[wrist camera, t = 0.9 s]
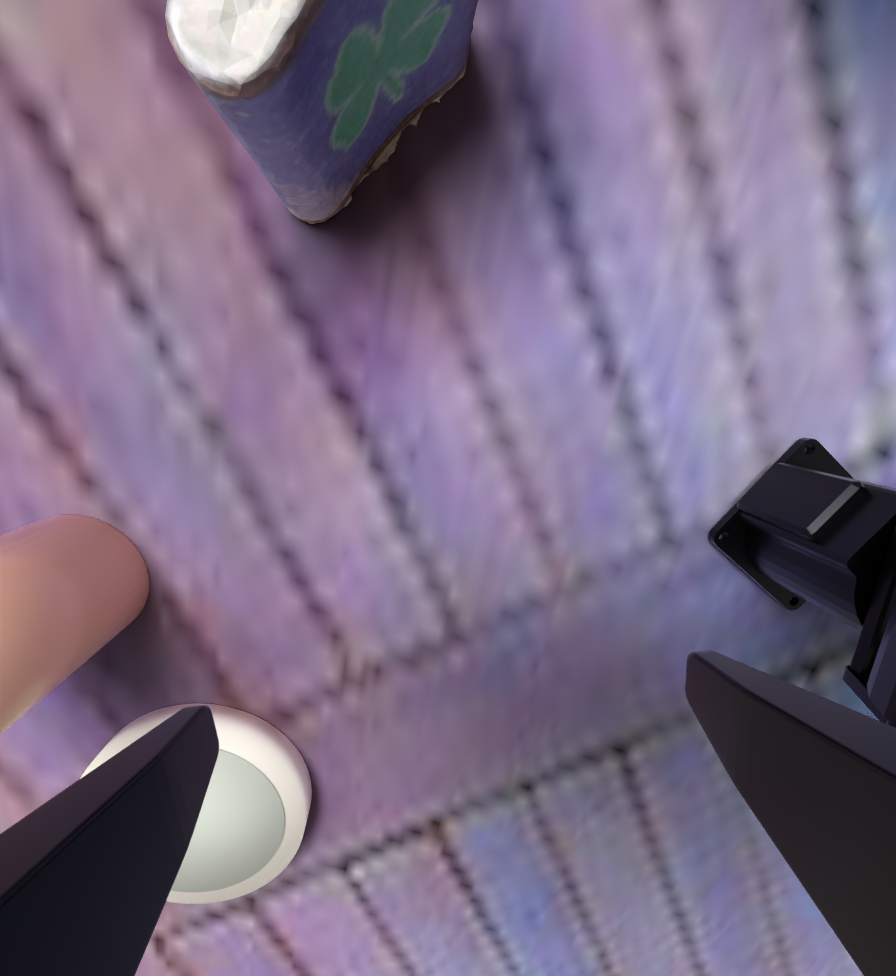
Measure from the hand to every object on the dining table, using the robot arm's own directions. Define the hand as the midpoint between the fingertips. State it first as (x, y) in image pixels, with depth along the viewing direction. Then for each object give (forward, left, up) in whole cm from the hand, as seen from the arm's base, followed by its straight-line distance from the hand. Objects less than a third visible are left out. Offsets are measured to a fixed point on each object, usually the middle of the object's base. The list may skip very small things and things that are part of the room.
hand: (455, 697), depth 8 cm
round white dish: (-1, +20, -13) cm, 23 cm away
